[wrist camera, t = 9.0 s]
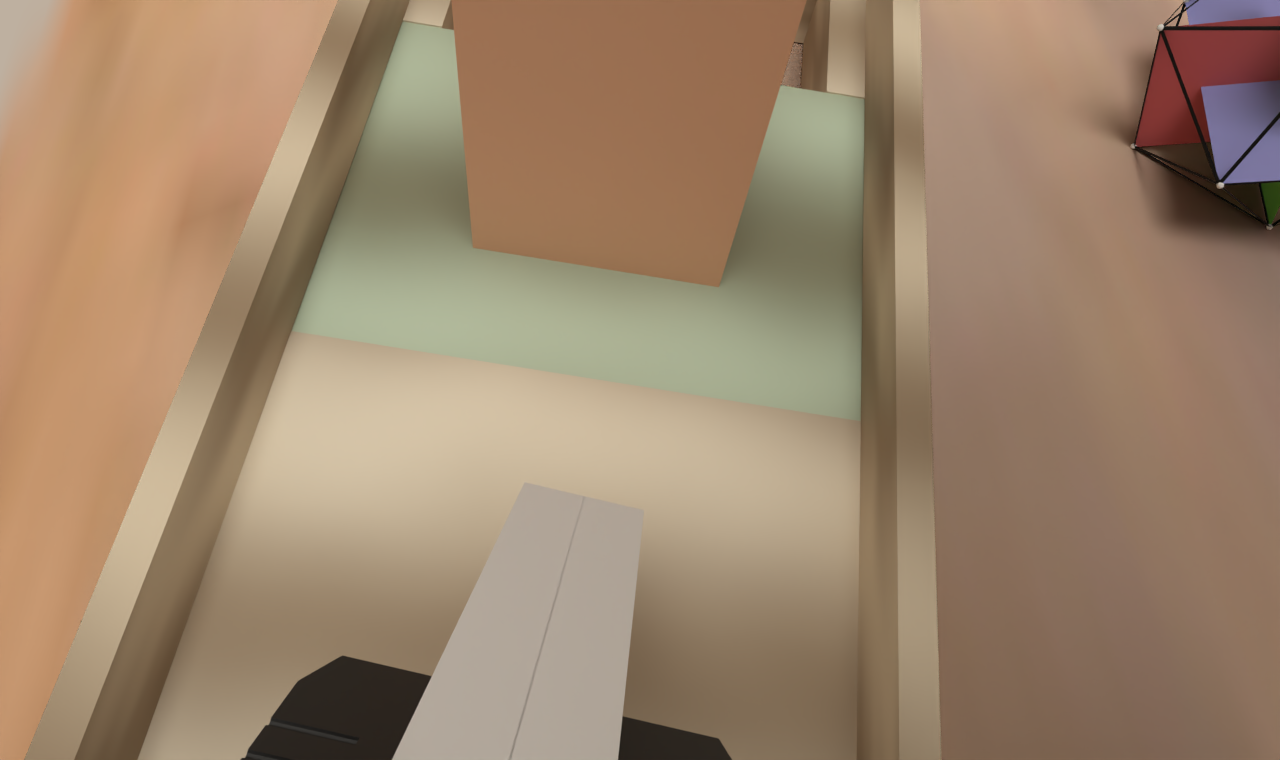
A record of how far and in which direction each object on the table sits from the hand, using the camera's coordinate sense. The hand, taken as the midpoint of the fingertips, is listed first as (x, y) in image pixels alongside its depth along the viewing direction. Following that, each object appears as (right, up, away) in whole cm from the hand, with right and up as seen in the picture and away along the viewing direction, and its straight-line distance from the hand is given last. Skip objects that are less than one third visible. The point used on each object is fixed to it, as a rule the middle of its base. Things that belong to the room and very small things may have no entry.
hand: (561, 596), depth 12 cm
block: (0, +7, +9) cm, 11 cm away
